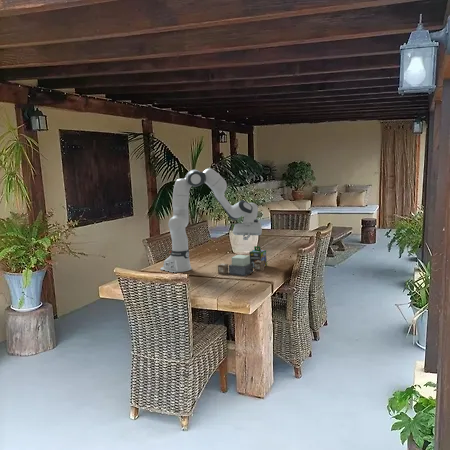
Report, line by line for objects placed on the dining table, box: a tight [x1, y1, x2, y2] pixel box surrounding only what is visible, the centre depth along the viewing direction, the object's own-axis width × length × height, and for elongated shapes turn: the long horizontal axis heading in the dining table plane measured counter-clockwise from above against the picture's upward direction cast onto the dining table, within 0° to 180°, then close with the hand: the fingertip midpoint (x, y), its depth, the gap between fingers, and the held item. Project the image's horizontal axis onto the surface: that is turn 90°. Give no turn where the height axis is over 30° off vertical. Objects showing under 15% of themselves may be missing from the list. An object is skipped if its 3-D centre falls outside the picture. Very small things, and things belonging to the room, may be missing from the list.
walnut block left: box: [217, 263, 229, 275], centre depth 293 cm, size 5×5×6 cm
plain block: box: [230, 254, 250, 266], centre depth 292 cm, size 9×9×8 cm
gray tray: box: [228, 263, 254, 277], centre depth 292 cm, size 12×12×6 cm
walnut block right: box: [253, 261, 265, 272], centre depth 297 cm, size 5×5×6 cm
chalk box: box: [249, 245, 268, 269], centre depth 307 cm, size 9×9×15 cm
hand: (245, 239), depth 300 cm, fingers closed
